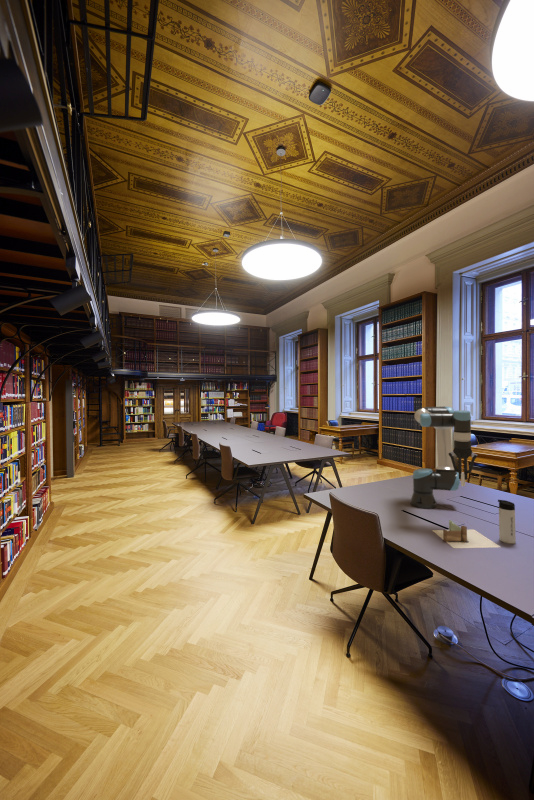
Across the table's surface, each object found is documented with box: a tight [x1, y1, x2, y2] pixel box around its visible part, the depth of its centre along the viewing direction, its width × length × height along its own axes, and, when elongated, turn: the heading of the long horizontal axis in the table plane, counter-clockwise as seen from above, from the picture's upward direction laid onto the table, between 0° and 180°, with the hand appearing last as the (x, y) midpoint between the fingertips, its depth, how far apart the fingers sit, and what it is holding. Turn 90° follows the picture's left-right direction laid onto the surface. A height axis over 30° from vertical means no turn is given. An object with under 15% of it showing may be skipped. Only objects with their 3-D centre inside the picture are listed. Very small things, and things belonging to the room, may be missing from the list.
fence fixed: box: [442, 525, 468, 542], centre depth 155 cm, size 2×11×7 cm, turn 89°
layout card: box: [431, 528, 501, 549], centre depth 158 cm, size 20×22×1 cm
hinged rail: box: [448, 519, 461, 531], centre depth 162 cm, size 10×2×5 cm, turn 179°
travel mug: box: [497, 499, 517, 545], centre depth 154 cm, size 6×7×20 cm
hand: (463, 485), depth 165 cm, fingers closed
